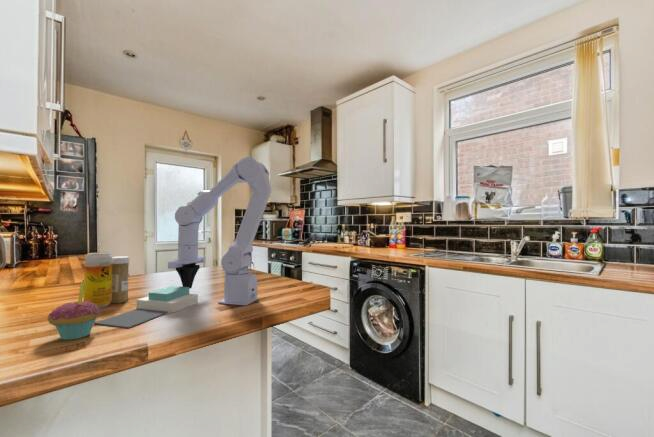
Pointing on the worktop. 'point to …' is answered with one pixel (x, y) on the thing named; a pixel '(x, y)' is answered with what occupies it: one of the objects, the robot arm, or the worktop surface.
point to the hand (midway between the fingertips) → (187, 288)
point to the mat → (131, 318)
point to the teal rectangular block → (168, 293)
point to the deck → (168, 303)
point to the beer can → (98, 278)
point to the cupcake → (75, 317)
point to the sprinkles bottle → (119, 279)
